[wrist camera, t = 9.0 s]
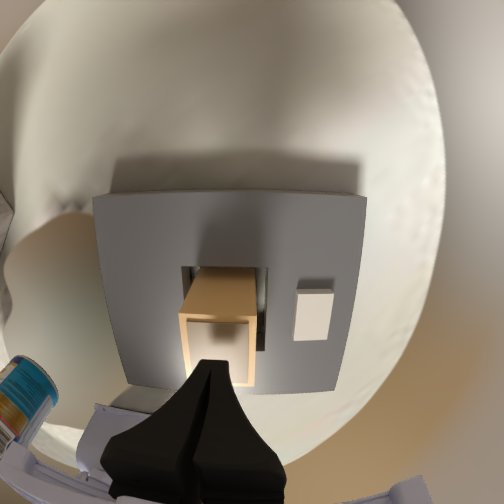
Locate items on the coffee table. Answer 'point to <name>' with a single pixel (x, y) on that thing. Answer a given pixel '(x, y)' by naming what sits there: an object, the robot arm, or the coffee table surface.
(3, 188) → the coffee table surface
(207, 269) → the plug
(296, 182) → the coffee table surface
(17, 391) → the beverage bottle
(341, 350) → the socket plate
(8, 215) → the coffee box
